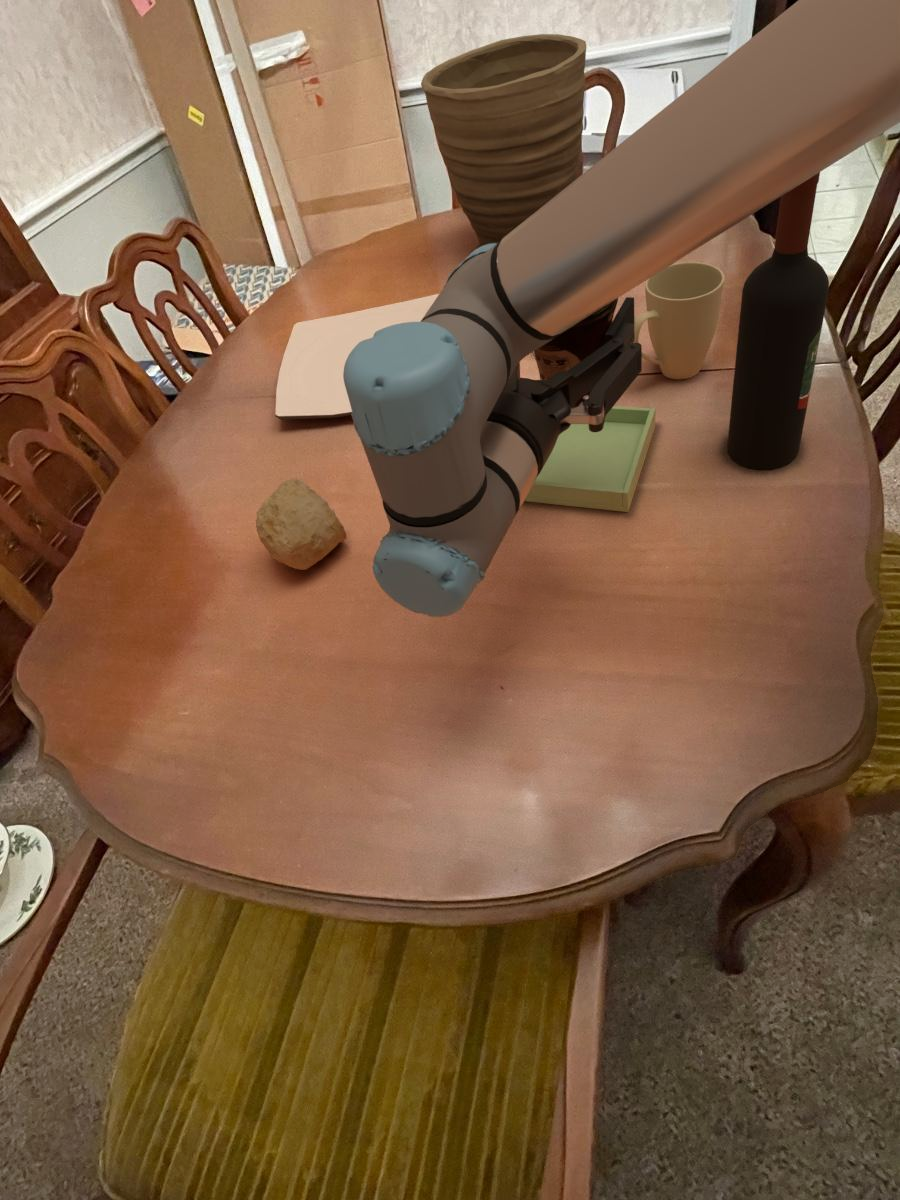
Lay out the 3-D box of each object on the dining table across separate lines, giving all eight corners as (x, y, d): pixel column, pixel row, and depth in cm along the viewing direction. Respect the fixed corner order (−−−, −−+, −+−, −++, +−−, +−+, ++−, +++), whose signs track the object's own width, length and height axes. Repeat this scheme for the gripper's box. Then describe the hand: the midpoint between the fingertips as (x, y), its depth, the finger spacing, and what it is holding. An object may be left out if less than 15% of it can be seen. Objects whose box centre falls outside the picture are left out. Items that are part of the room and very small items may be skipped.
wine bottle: (721, 432, 88) (745, 155, 66) (789, 423, 87) (837, 137, 65) (734, 474, 83) (766, 189, 61) (807, 465, 82) (865, 171, 60)
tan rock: (365, 493, 83) (286, 512, 77) (356, 569, 89) (281, 592, 83) (318, 455, 88) (239, 470, 82) (312, 528, 94) (238, 548, 88)
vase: (590, 207, 136) (601, 8, 111) (564, 288, 124) (570, 85, 99) (460, 200, 142) (442, 9, 117) (423, 277, 130) (394, 82, 105)
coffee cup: (576, 441, 73) (565, 317, 63) (518, 412, 78) (499, 293, 68) (637, 396, 76) (635, 271, 66) (576, 371, 81) (567, 251, 71)
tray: (655, 427, 91) (655, 407, 89) (628, 512, 83) (627, 493, 81) (535, 419, 97) (532, 401, 95) (498, 498, 88) (494, 480, 86)
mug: (644, 349, 102) (644, 262, 94) (721, 349, 99) (728, 260, 90) (629, 397, 96) (627, 309, 87) (710, 399, 93) (717, 308, 84)
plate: (272, 439, 105) (264, 424, 103) (293, 335, 125) (287, 320, 123) (472, 402, 102) (469, 385, 100) (463, 301, 121) (460, 285, 119)
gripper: (400, 473, 69) (497, 336, 81) (622, 508, 60) (693, 350, 72) (378, 403, 63) (486, 268, 75) (619, 432, 55) (697, 274, 67)
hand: (587, 308), depth 74 cm, fingers closed on coffee cup, 8 cm apart
